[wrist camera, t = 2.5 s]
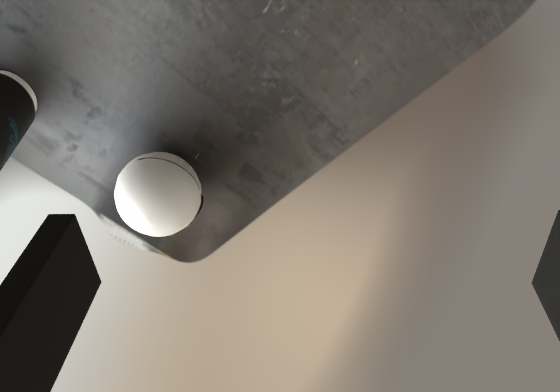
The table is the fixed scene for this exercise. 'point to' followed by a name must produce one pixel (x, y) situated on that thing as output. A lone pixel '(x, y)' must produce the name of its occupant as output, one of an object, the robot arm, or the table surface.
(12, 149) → the dixie cup
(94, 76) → the table surface
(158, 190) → the white sphere
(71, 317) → the robot arm
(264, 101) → the table surface
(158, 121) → the table surface
